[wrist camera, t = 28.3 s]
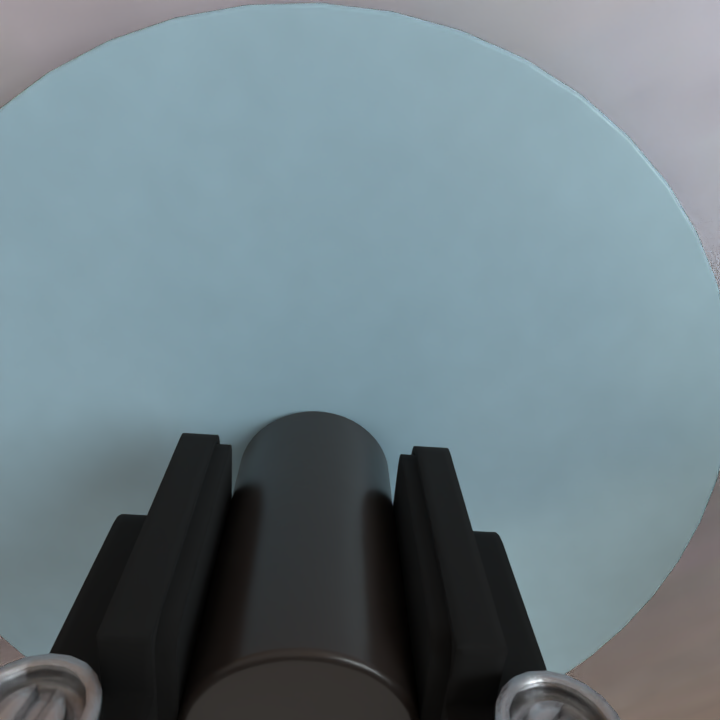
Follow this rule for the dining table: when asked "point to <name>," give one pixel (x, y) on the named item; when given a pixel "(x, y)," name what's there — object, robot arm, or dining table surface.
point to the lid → (343, 338)
